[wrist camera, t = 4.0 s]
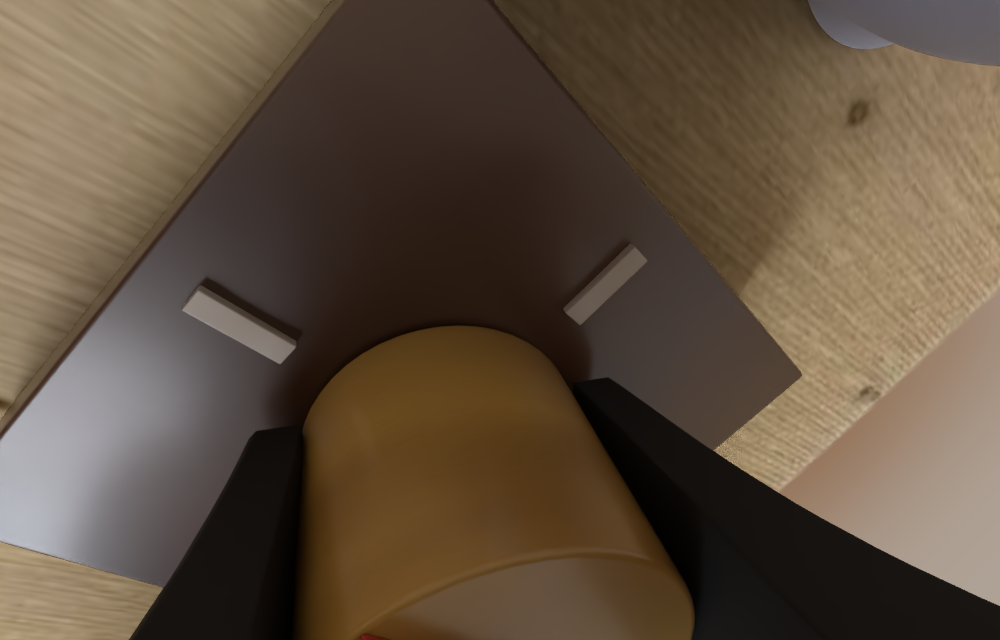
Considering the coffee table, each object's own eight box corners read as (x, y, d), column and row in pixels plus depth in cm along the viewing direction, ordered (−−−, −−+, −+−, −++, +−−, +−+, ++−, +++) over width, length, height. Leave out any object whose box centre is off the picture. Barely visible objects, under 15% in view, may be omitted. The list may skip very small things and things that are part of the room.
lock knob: (617, 409, 10) (779, 647, 7) (447, 560, 11) (509, 843, 7) (434, 266, 8) (531, 514, 4) (238, 473, 9) (181, 823, 5)
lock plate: (434, 575, 15) (453, 677, 13) (8, 408, 10) (-81, 533, 8) (728, 312, 13) (811, 381, 11) (392, -75, 8) (419, -95, 6)
